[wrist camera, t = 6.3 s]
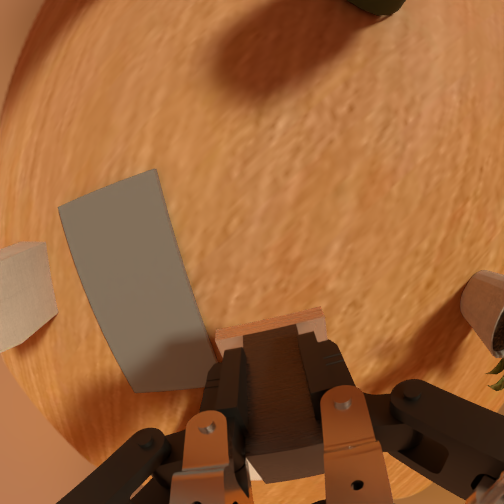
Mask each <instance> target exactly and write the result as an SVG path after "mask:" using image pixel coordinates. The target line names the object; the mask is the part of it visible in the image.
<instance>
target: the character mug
mask: <svg viewBox="0 0 504 504" xmlns="http://www.w3.org/2000/svg"><path fill="white" fill-rule="evenodd" d="M348 1H349V2H351V3H353V4H354V5H356V6H357V7H359V8H361V9H363V10H365V11H368V12H370V13H372V14H375V15H391V14H393V13H395V12H397V11H398V10H399V9H400V8H401V6H402V5H403V3H404V2H405V1H406V0H348Z"/></svg>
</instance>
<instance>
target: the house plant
mask: <svg viewBox="0 0 504 504" xmlns="http://www.w3.org/2000/svg"><path fill="white" fill-rule="evenodd" d="M460 309H461V313H462V315H463V317H464V318H465V319H466V320H467V322H468V323H469V324H470V325H471V327H472V328H473V329H474V331H475V332H476V333H477V335H478V336H479V337H480V339H481V340H482V341H483V343H484V344H485V345H486V347H487V348H488V350H489V351H490V352H491V354H492V355H493V356H494V357H496V358H502V359H501V361H500V362H499V363H498V365H497V366H496V367H495V368H494V369H493V370H492V371H490V372H489V373H486V374H498V373H500V372H501V371H503V370H504V275H502V274H498V273H494V272H490V271H486V270H483V271H479V272H477V273H476V274H475V275H473V276H472V277H471V279H470V280H469V282H468V283H467V285H466V287H465V289H464V291H463V293H462V296H461V300H460ZM487 386H489V385H487ZM489 387H491V388H492V389H494V390H495V391H499V390H502V389H503V388H504V376H503V377H502V378H501V379H500V380H499V381H498V382H497V383H496V384H494V385H492V386H489Z"/></svg>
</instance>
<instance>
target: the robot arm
mask: <svg viewBox="0 0 504 504" xmlns="http://www.w3.org/2000/svg"><path fill="white" fill-rule="evenodd" d="M296 336H297V341H298V346H299V350H300V354H301V358H302V363H303V367H304V371H305V376H306V380H307V384H308V389H309V393H310V397H311V402H312V406H313V411H314V415H315V420H316V421H317V420H320V424H321V429H322V433H323V441H324V471H325V490H326V499H325V500H321V501H317V502H315V503H312V504H394V503H393V498H392V493H391V488H390V483H389V479H388V474H387V470H386V465H385V461H384V456H383V452H388V453H389V454H390V455H391V456H393V457H394V458H396V459H398V460H399V461H401V462H402V463H404V464H405V465H407V466H408V467H410V468H411V469H413V470H415V471H416V472H418V473H419V474H421V475H423V476H424V477H426V478H428V479H429V480H431V481H433V482H434V483H436V484H438V485H439V486H441V487H443V488H444V489H446V490H448V491H450V492H451V493H453V494H455V495H457V496H459V497H460V498H463V499H464V500H466V502H465V504H504V416H503V415H501V414H498V413H496V412H493V411H491V410H489V409H486V408H484V407H481V406H479V405H477V404H474V403H472V402H470V401H467V400H465V399H463V398H461V397H458V396H456V395H454V394H452V393H449V392H447V391H445V390H443V389H440V388H438V387H436V386H434V385H432V384H429V383H427V382H425V381H422V380H418V379H411V380H406V381H403V382H401V383H399V384H398V385H396V386H395V387H394V388H393V390H392V392H391V394H382V395H371V394H366V393H364V392H362V391H361V390H360V389H359V388H357V387H356V386H355V384H354V382H353V379H352V377H351V375H350V372H349V370H348V368H347V366H346V363H345V361H344V359H343V357H342V354H341V352H340V350H339V348H338V346H337V344H335V343H334V342H332V341H331V340H325V341H321V342H318V341H317V338H316V336H315V333H314V331H312V332H308V333H303V334H299V335H296ZM245 433H248V407H247V375H246V354H245V351H244V349H243V347H238V348H233V349H227V350H224V355H223V361H222V362H221V363H215V364H214V365H213V366H212V367H211V369H210V370H209V371H208V375H207V379H206V384H205V389H204V393H203V398H202V403H201V407H200V412H199V413H198V414H196V415H195V416H193V417H192V418H191V419H190V420H189V422H188V423H187V426H186V429H185V430H183V431H180V432H177V433H173V434H170V435H166V436H165V435H164V434H163V433H162V432H161V431H160V430H159V429H156V428H145V429H142V430H140V431H138V432H136V433H135V434H134V435H133V436H132V437H130V438H129V439H128V440H127V441H126V442H125V443H124V444H123V445H122V446H121V447H120V448H119V449H118V450H116V451H115V452H114V453H113V454H112V455H111V456H110V457H109V458H108V459H107V460H106V461H104V462H103V463H102V464H101V465H100V466H99V467H98V468H97V469H96V470H95V471H93V472H92V473H91V474H90V475H89V476H88V477H87V478H85V479H84V480H83V481H82V482H81V483H80V484H79V485H77V486H76V487H75V488H74V489H73V490H72V491H70V492H69V493H68V494H67V495H66V496H64V497H63V498H62V499H61V500H60V501H58V502H57V503H56V504H254V501H253V495H252V488H251V480H250V473H249V465H248V461H247V459H246V457H245ZM150 475H151V476H152V477H153V478H152V479H151V480H150V481H149V482H148V483H147V484H146V485H145V486H144V487H143V488H142V489H141V490H140V491H139V492H138V493H137V494H136V495H135V496H134V497H133V498H132V499H131V500H130V496H131V495H132V493H133V492H134V491H135V490H136V489H137V488H138V487H139V486H140V485H141V484H142V483H143V482H144V481H145V480H146V479H147V478H148V477H149V476H150Z"/></svg>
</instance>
